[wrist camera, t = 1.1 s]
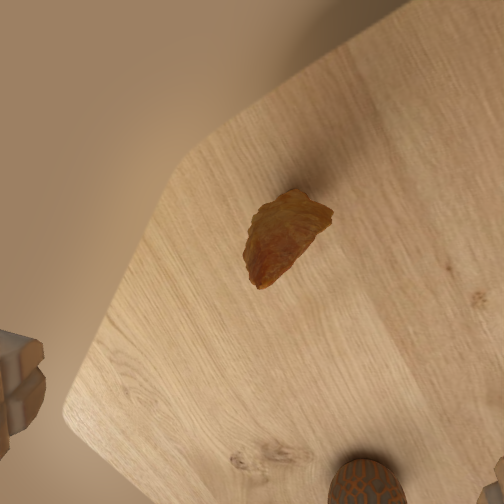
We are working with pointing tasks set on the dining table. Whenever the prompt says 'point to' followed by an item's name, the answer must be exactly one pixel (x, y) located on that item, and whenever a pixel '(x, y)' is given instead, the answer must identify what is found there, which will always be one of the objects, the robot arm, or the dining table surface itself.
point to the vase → (365, 484)
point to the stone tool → (282, 235)
